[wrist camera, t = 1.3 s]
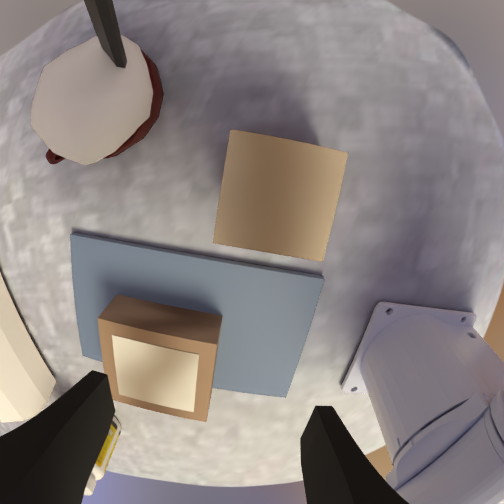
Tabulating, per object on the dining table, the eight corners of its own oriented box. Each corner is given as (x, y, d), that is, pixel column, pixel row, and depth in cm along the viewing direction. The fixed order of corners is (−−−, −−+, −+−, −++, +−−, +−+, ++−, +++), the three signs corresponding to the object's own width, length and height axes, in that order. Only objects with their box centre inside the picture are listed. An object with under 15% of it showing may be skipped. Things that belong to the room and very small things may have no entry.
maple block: (320, 149, 16) (348, 153, 11) (304, 225, 17) (322, 261, 12) (240, 133, 16) (230, 129, 11) (227, 211, 17) (212, 242, 12)
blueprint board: (322, 275, 18) (324, 279, 18) (285, 392, 22) (285, 397, 21) (74, 232, 18) (70, 234, 17) (85, 352, 21) (82, 355, 21)
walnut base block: (222, 315, 19) (216, 345, 16) (211, 392, 21) (206, 422, 18) (117, 294, 19) (97, 318, 16) (122, 372, 21) (108, 398, 18)
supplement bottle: (73, 397, 24) (37, 461, 16) (115, 408, 24) (84, 479, 16) (87, 427, 25) (59, 487, 17) (127, 437, 25) (103, 503, 17)
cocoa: (84, 173, 17) (-72, 246, 6) (60, 86, 15) (-99, 93, 4) (227, 119, 15) (131, 108, 4) (197, 20, 13) (90, -100, 2)
